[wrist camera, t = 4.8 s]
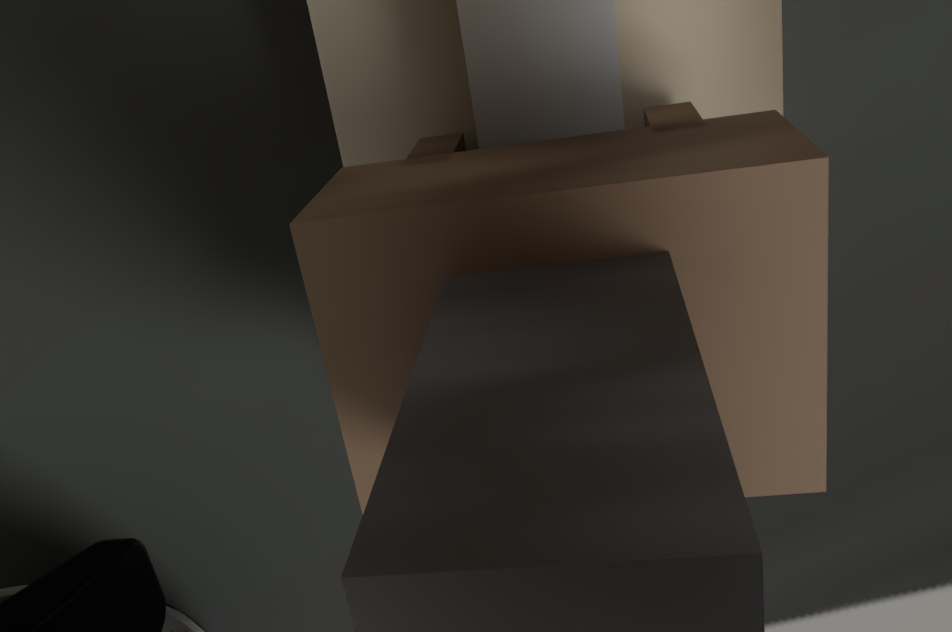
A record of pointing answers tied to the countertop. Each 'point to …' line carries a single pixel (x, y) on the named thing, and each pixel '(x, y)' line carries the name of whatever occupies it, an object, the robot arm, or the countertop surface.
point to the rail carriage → (574, 371)
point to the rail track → (433, 85)
